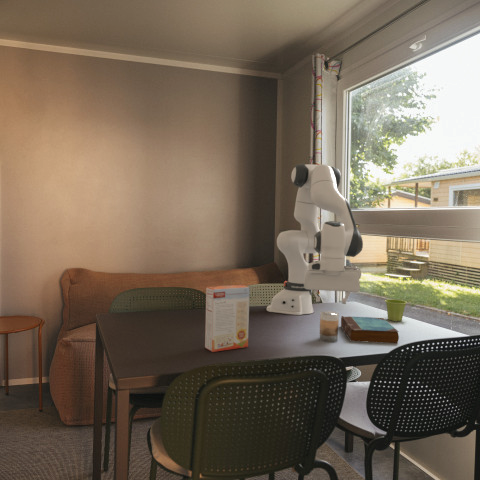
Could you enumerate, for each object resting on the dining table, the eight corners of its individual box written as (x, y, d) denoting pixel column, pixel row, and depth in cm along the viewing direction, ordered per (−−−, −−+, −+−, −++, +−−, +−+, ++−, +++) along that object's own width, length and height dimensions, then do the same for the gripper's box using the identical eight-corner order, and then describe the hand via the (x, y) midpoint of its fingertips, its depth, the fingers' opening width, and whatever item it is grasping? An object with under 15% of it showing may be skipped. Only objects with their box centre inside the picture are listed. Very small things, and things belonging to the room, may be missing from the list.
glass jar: (319, 341, 165) (320, 314, 164) (319, 336, 171) (320, 310, 171) (337, 343, 163) (339, 315, 163) (337, 338, 170) (338, 312, 169)
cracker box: (239, 343, 158) (241, 284, 157) (248, 347, 153) (250, 286, 152) (203, 347, 151) (205, 285, 150) (211, 352, 146) (214, 288, 145)
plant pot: (407, 323, 200) (408, 303, 200) (385, 321, 202) (386, 302, 202) (404, 318, 209) (405, 300, 209) (382, 317, 211) (383, 298, 211)
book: (340, 327, 189) (341, 315, 189) (383, 329, 188) (383, 318, 188) (350, 342, 166) (350, 329, 166) (398, 345, 165) (399, 331, 165)
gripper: (360, 266, 167) (359, 303, 167) (305, 263, 171) (303, 299, 171) (362, 267, 161) (360, 306, 161) (304, 264, 165) (303, 302, 165)
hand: (330, 302), depth 166 cm, fingers open, 8 cm apart
